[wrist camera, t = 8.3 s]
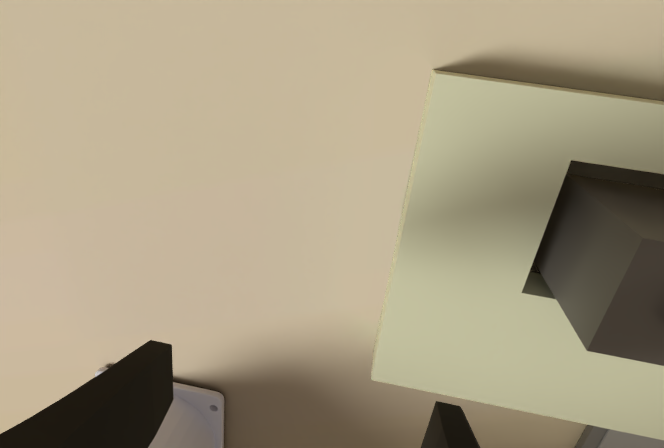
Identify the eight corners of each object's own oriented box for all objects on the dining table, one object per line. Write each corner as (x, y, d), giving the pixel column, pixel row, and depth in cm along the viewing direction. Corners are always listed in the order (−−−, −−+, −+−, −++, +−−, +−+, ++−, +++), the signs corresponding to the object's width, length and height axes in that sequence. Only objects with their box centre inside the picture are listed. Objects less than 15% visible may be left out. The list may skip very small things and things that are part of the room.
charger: (626, 275, 18) (741, 398, 12) (532, 258, 18) (597, 369, 12) (669, 190, 16) (829, 281, 10) (565, 173, 17) (659, 251, 11)
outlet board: (654, 407, 21) (678, 443, 19) (373, 351, 22) (370, 380, 20) (830, 124, 15) (890, 136, 13) (432, 69, 16) (436, 73, 14)
